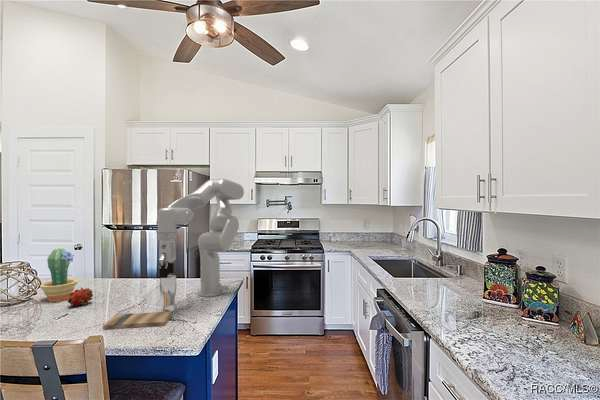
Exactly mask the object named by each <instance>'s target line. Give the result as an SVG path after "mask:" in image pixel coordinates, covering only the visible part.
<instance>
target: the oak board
mask: <svg viewBox="0 0 600 400" xmlns="http://www.w3.org/2000/svg"><path fill="white" fill-rule="evenodd" d="M172 316H173V312H172V311H169V312H161V311H157V312H152V311H151V312H135V313H133V312H131V313H120V314H115V315H114V316H113V317H112V318H111V319H109V320H108V321H107V322H105V324H103V326H102V329H103V330H104V331H105V330H116V329H115V328H120V329H132V328H131V327H136V328H149V327H165V325H166V324H167V323H168V322H169V320H170V319H171V317H172ZM169 318H170V319H169Z"/></svg>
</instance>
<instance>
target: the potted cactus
mask: <svg viewBox="0 0 600 400" xmlns="http://www.w3.org/2000/svg"><path fill="white" fill-rule="evenodd" d="M46 260H47V269H49V272H50V277H51V280H50V281H46V282H43V283H40V284H41V285H39V287H40V290H42V291H43V293H44V295H45V296H46V297H47V299H48V302H51V303H53V302H61V301H65V300H69V297H70V294H71V293H72V292H74V291H75V290H74V289H75V288H76V285H78V279H74V278H68V274H69V273H68V272H69V271H68V269H69V266H70V263H73V262H74V261H73V260H74V255H73V254H72V253H71V252H70V251H67V250H66V249H65V248H60V247H59V248H54V249H53V250H52V251H51V252H50V254H49V255H48V256H47V259H46Z"/></svg>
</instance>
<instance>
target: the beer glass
mask: <svg viewBox="0 0 600 400" xmlns="http://www.w3.org/2000/svg"><path fill="white" fill-rule="evenodd" d="M177 285H178V284H177V275H176V274H168V277H167V278H160V277H159V294H160V299H161V308H160V312H169V311H172V313H173V312H175V311H176V310H177V307H176V295H177Z"/></svg>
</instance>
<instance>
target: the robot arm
mask: <svg viewBox="0 0 600 400" xmlns="http://www.w3.org/2000/svg"><path fill="white" fill-rule="evenodd" d="M244 194H245V189H244V187H243V186H242V184H240V183H238V182H235V181H232V180H229V179H226V178H216V179H215V178H214V179H213V178H212V179H208V180H206V181H205V182H204V183H203V184H202V185H200V186H199V187H198V188H197V189H195V191H193V192H191V193H190V194H187V195H185V196H182V197H180V198H178V199H176V200H175V201H173V202H172V203H171V204H169V205H168V206H166V207H163V208H159V209H158V211H157V240H158V241H159V245H158V247H159V248H158V250H159V251H158V262H159V279H160V278H167V277H168V275H169V274H174V267H175V266H174V265H175V264H174V262H175V261H176V259H177V255H176V240H177V225H187V224H190V223H191V222H192V221H193V219H194V215H195V214H194V212H193V210H196V209H200V208H203V207H205V206H206V205H207V204H208V203H209V202H210V201H211V200H212V199H214V198H215V200H216V205H217V206H216V210H215V211H214V213H213V215H212V217H211V219H210V222H209V224H208V225H209V226H208V227H209V230H210V231H207V232H203V233H201V234H200V235H199V237H198V240H197V245H198V250H199V256H200V261H199V262H200V290H198V292H197V296H199V297H202V298H203V297H204V298H213V297H218V296H220V295H223V293H224V290H225V291H229V288H230V287H229V285H226V284H225V285H222V283H221V280H220V279H221V278H220V277H221V276H220V275H221V273H220V265H221V263H220V260H221V259H220V256H219V253H225V252H228V251H229V250H230V248H231V247H232V245H233V242H234V240H235V238H236V236H237V233H238V230H239V228H240V227H239V225H240V222H239V218H237V216H235V215H232V213H233V207H232V205H231V203H230V201H231V200H232V201H237V200H241V199H242V198H243V197H244Z"/></svg>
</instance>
